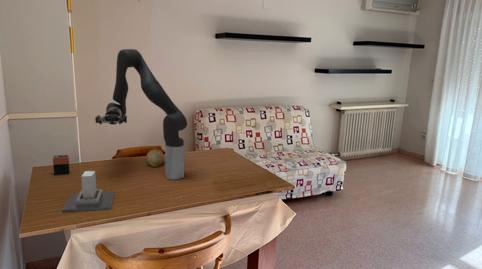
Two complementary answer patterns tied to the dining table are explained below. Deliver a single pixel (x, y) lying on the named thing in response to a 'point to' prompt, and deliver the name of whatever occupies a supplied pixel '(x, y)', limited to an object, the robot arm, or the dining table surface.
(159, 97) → the robot arm
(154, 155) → the bread roll
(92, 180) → the skincare box
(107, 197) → the grey box holder
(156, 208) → the dining table surface
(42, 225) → the dining table surface
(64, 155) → the battery
